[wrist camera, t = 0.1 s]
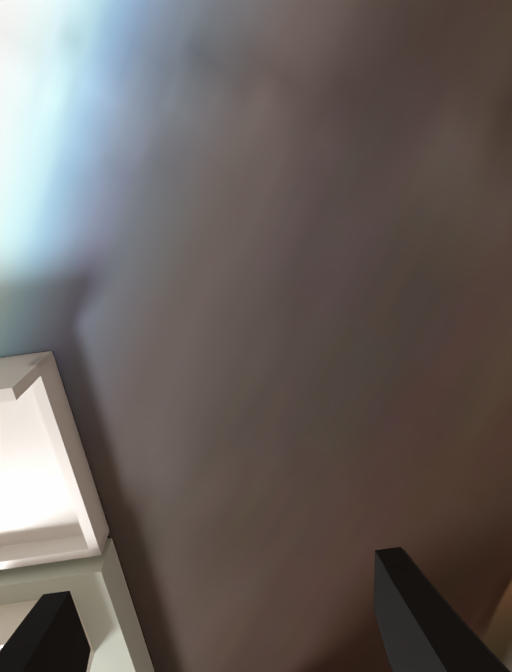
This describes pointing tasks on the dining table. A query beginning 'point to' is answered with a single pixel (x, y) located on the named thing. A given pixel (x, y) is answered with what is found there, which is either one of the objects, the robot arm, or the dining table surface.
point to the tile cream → (9, 616)
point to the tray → (43, 470)
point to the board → (89, 605)
